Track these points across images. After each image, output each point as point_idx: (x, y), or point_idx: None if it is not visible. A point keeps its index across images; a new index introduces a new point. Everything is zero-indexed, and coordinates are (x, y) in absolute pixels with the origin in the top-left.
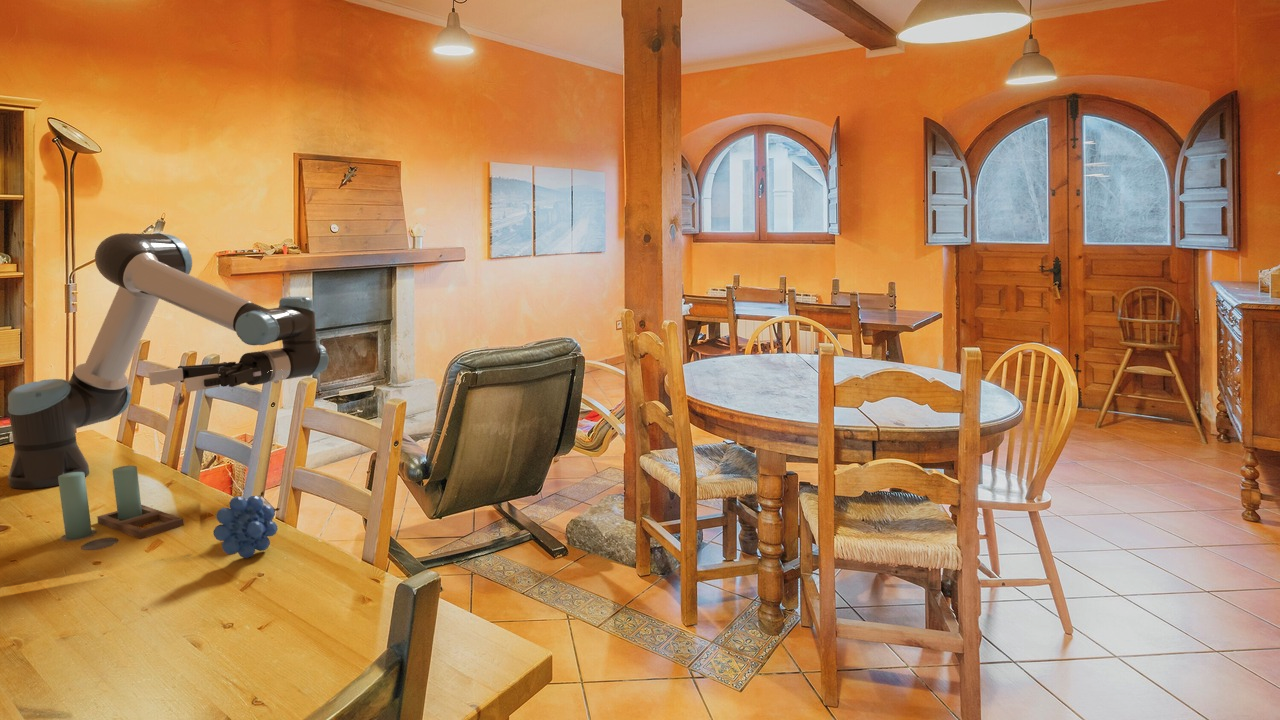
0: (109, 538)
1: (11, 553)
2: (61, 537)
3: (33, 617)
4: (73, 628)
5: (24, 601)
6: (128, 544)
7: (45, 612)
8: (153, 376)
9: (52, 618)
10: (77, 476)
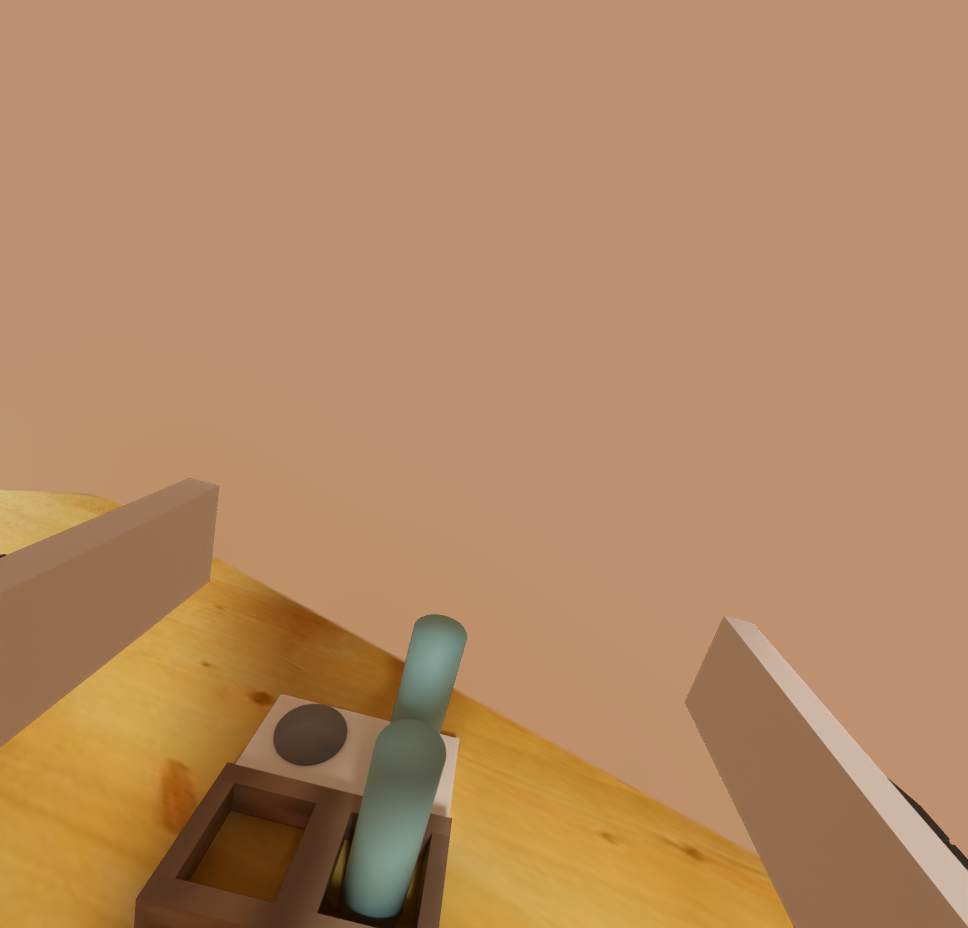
0: (315, 758)
1: (467, 697)
2: None
3: (216, 577)
4: None
5: (270, 600)
6: None
7: (209, 585)
8: (719, 657)
9: None
10: (414, 626)
